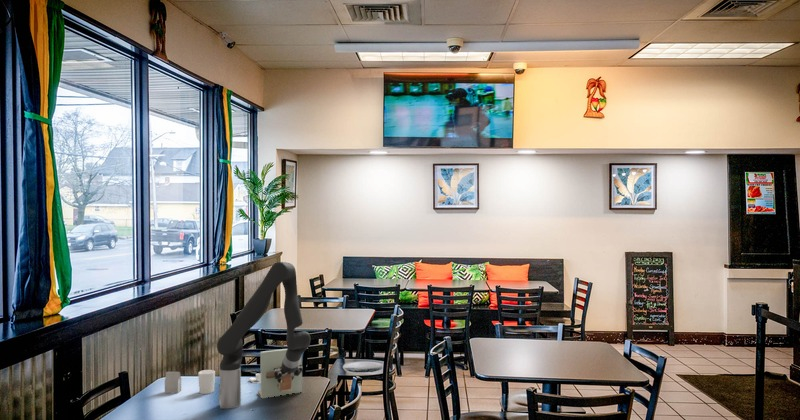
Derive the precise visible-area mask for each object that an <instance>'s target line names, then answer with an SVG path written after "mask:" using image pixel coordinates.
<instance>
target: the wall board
mask: <svg viewBox="0 0 800 420" xmlns="http://www.w3.org/2000/svg"><path fill="white" fill-rule="evenodd" d="M287 349H288V348H282V349H281V348H280V349H274V350H273V349H272V350H265V351H260V353H259V354H260V358H259V359H260V361H259V362H260V363H259V364H260V365H259V366H260V373H261V381H260V382H261V383H260V390H258V391H257V394H259V395H258V396H259V397H260V399H261V398H262V399H268V397H269V398H274V396H275V397H280V395H282V396H287V395H286V394H289V395H293V394H292V393H295V394H301V393H300V392H302V393H303V371H302V372H301V373H300V374H299V375H298V376H295V377H294V378H293V380H292V391H286V392H281V391H280V390H279V389H278V388H277V385H279V382H278V381H277V379H275V374H274V368H276V369H277V367H281V366H282V362H283V359H284V356H285V354H286V352H287ZM299 365H302V366H303V354H302V355H301V359H300V363H299ZM299 365H298V366H299ZM278 374H279V373H278Z"/></svg>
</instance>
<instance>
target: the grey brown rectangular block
mask: <svg viewBox="0 0 800 420" xmlns="http://www.w3.org/2000/svg"><path fill="white" fill-rule="evenodd" d="M165 372H166V373H165V378H164V394H179V393H181V392H182V375H181V372H180V371H165Z"/></svg>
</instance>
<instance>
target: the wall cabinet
mask: <svg viewBox="0 0 800 420" xmlns="http://www.w3.org/2000/svg"><path fill="white" fill-rule="evenodd" d="M277 369H280V367H277ZM279 372H280V371H279ZM291 376H292V375H291V374H286V375H285V376H284V377H282V379H281V382H280V383H279V385H277V388H278V389H279V390H280V391H281V392H286V391H292V378H291Z"/></svg>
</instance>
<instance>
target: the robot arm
mask: <svg viewBox="0 0 800 420" xmlns="http://www.w3.org/2000/svg"><path fill="white" fill-rule="evenodd" d="M280 284H282V285H283V289H284V303H283V313H284V319H285V322H286V323H285V324H286V340H285V341H286V346H287V348H286V349H287V352H286V354H285V356H284V359H283V362H282V366H281V367H280V369H276V368H274V374H275V379H277V381H278V382H279V383H280V382H281V379H282V377H284V376H285V375H286V374H291V375H292V376H291V378H292V380H293V378H294V377H295V376H298V375H299V374H300V373H301V372H302V373H303V370H304V369H303V364H302V365H299V363H300V359H301V355H302V356H303V354H304V353H305V351H306V350H307V349H308V348H309V347H310V344H311V340H312V338H311V335H310V333H309V332H308V331H305V330H304V331H299V332H295V330H296V328H299V327H302V325H303V317H302V313H301V308H300V303H299V296H298V285H297V271H296V268H295V266H294V265H293V264H292V263H290V262H286V261H285V262H284V261H278V262H275V263H273V264H272V265H271V267H270V268H269V270H268V271H267V273H266V275H265V277H264V278H263V280H262V282H261V283H260V285H259V286H258V288H257V289H256V291H254V293H253V294H252V296H251V297H250V298H249V300H248V301H247V302H246V303H245V305H244V306H243V308H242V309H241V310H240V312H239V314H238V315H237V316H236V318H235V320H234V321H233V323H232V324H231V325H230V326H229V328H228V329H227V330H226V331H225V332H224V333H223V334H222V335H221V337H220V338H219V339H218V340H217V343H216V348H217V351H218V353H219V355H222V359H221V361H220V363H219V384H218V406H219V407H220V409H233V408H239V407H240V406H241V405H242V403H241V402H242V394H241V393H242V389H241V388H242V387H241V385H242V383H241V382H242V381H241V379H242V377H241V376H242V372H241V371H242V370H241V369H242V366H241V364H242V361H243V352H244V351H243V349H244V347H243V346H244V345H243V343H244V342H243V337H244V336H245V334H247V332H248V331H249V330H251V328H252V327H254V326H255V325H256V324H257V323H258V322H259V321H260V320H261V318H262V317H263V316H264V315H265V313H266V312H267V310H268V309H269V308H270V307H269V306H270V302H271V299H272V297H273V294H274V292H275V290H276V289H277V288H278V286H279V285H280ZM298 365H299V366H298ZM279 371H280V372H279ZM278 373H279V374H278Z"/></svg>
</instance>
